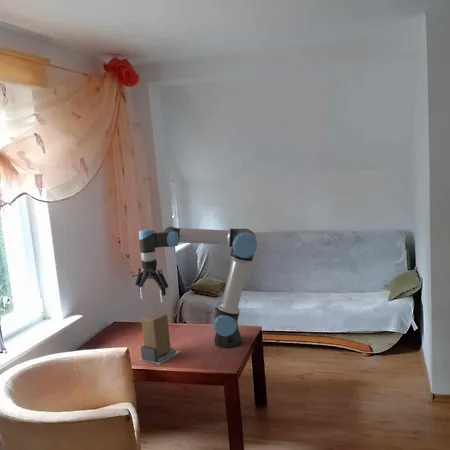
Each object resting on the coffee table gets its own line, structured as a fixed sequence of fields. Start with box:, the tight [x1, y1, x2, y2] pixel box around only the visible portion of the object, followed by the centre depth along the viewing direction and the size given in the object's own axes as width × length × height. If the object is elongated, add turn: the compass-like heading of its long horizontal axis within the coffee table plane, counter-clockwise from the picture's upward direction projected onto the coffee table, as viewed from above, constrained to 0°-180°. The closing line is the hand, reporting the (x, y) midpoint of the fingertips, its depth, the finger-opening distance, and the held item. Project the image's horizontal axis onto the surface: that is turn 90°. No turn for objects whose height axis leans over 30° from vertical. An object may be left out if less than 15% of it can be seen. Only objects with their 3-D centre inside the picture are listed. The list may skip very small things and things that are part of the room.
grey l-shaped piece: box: [138, 345, 181, 365], centre depth 283 cm, size 14×17×8 cm
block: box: [140, 311, 171, 357], centre depth 280 cm, size 10×10×20 cm
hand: (153, 300), depth 278 cm, fingers open, 13 cm apart
